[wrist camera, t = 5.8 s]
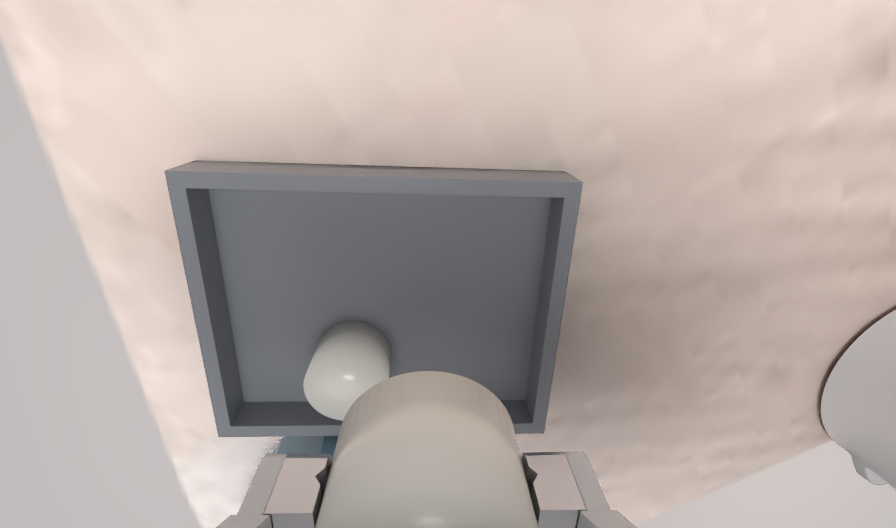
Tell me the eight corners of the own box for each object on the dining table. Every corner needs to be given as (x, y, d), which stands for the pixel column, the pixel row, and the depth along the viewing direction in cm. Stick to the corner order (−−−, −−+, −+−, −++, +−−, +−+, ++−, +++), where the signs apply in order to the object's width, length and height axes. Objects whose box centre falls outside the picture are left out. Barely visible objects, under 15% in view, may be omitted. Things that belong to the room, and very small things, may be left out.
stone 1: (391, 321, 27) (387, 352, 24) (391, 383, 28) (388, 420, 25) (314, 320, 26) (299, 352, 23) (319, 383, 28) (306, 421, 25)
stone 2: (522, 371, 11) (561, 488, 8) (506, 505, 13) (532, 646, 9) (333, 370, 11) (293, 491, 7) (343, 507, 12) (314, 652, 9)
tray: (564, 171, 25) (582, 182, 22) (532, 401, 31) (543, 433, 28) (195, 160, 23) (164, 170, 20) (237, 403, 29) (218, 437, 26)
